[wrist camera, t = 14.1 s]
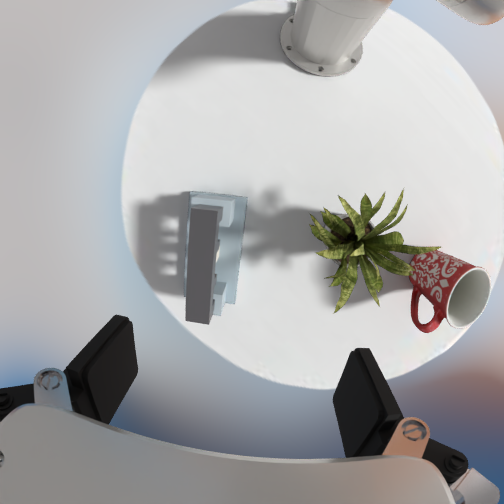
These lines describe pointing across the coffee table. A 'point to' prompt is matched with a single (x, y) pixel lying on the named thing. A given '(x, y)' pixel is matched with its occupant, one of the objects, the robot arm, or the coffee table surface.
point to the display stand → (223, 244)
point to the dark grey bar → (202, 262)
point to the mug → (448, 289)
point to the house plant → (363, 246)
